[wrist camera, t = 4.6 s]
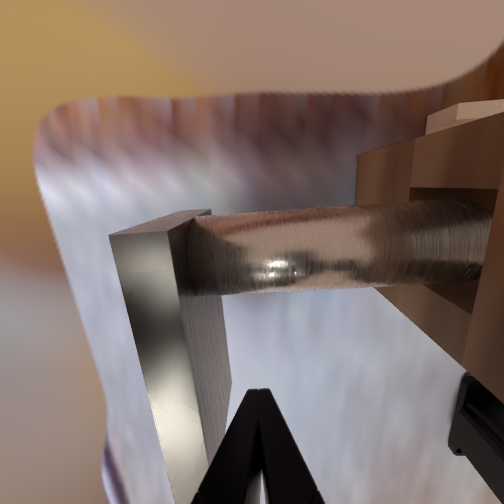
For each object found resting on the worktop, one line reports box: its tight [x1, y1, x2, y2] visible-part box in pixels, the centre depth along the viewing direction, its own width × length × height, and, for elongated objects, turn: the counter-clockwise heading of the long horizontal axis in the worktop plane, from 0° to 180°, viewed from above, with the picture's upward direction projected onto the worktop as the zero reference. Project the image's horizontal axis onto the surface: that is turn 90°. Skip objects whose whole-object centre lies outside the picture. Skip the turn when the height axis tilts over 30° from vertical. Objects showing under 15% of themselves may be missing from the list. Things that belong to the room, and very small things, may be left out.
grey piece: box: [108, 197, 493, 504], centre depth 8 cm, size 9×8×4 cm
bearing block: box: [355, 112, 504, 403], centre depth 8 cm, size 3×6×9 cm, turn 4°
